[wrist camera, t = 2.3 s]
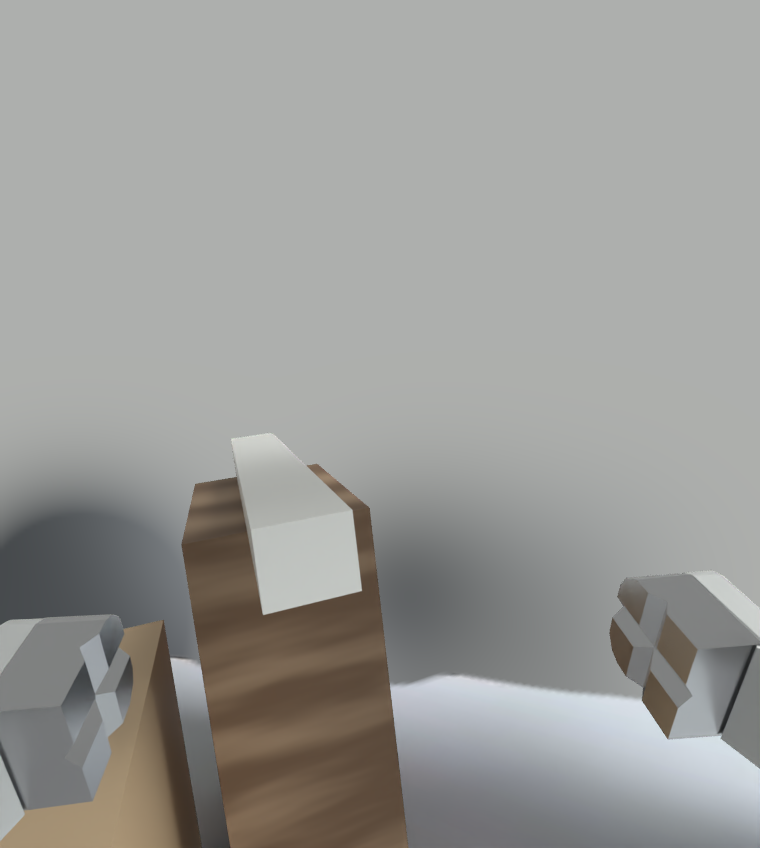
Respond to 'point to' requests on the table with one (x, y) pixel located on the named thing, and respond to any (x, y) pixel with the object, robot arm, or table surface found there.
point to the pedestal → (293, 691)
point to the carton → (130, 771)
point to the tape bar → (293, 527)
